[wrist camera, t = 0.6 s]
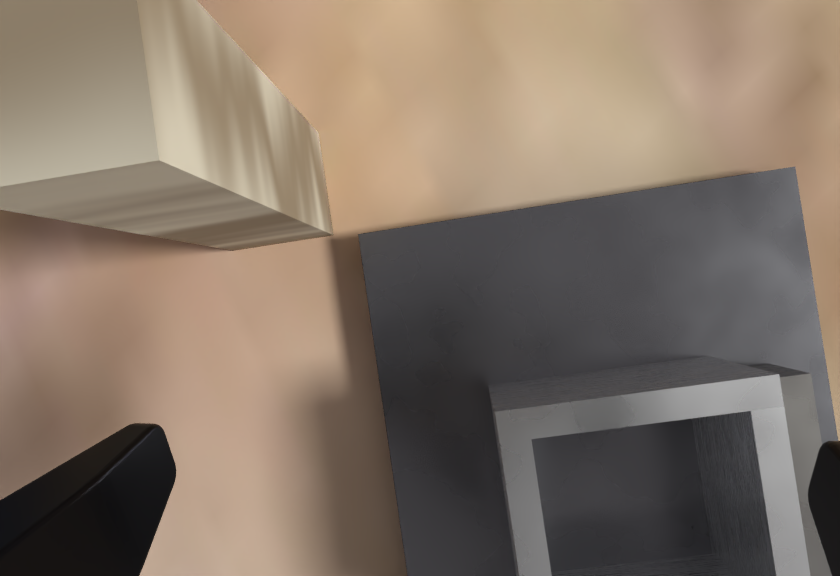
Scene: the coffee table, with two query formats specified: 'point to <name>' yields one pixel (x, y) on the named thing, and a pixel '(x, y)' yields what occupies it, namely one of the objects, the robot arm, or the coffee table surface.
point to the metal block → (151, 127)
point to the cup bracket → (606, 384)
